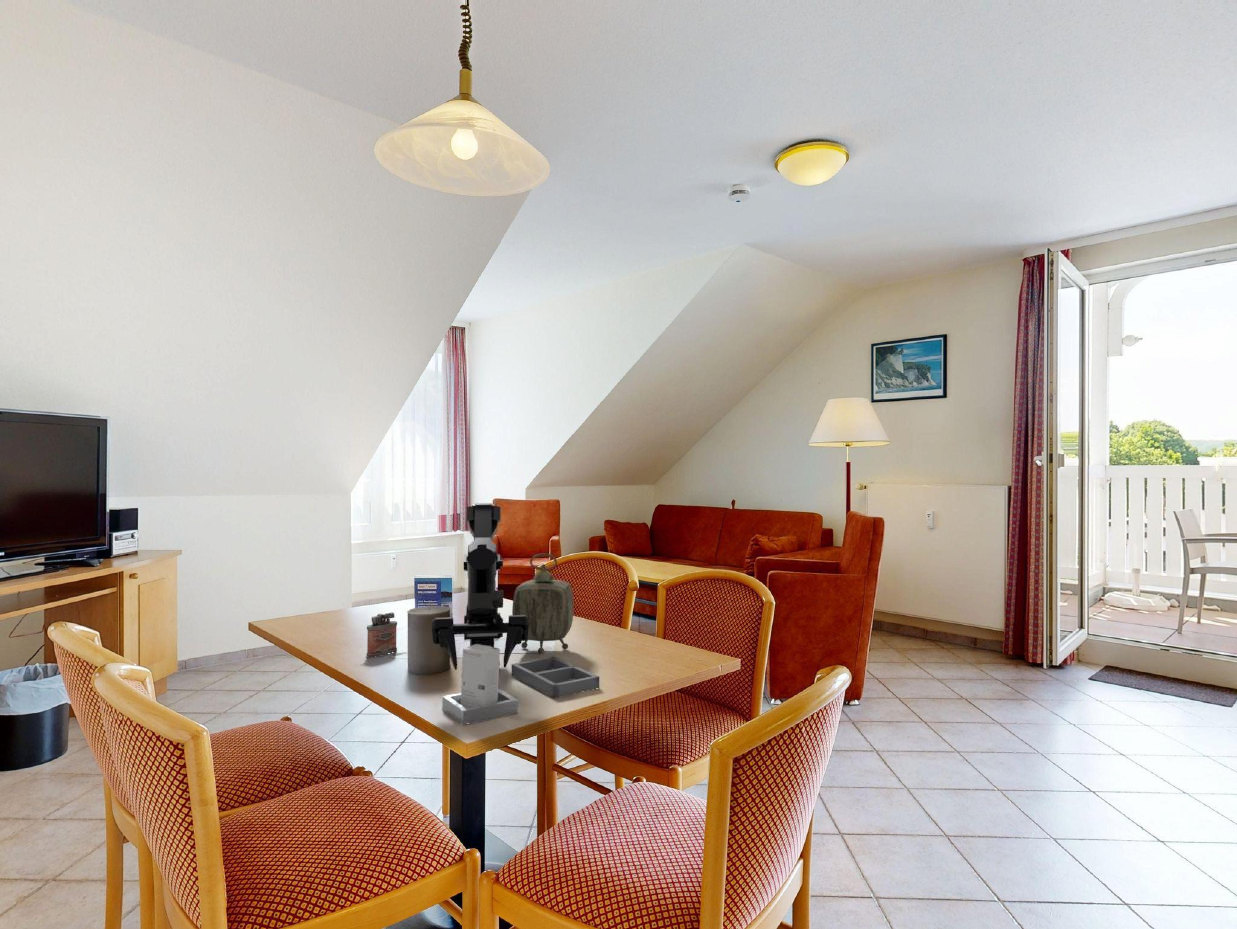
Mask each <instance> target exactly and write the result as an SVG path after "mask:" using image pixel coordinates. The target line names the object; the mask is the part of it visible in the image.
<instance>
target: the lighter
mask: <svg viewBox="0 0 1237 929" xmlns="http://www.w3.org/2000/svg"><path fill="white" fill-rule="evenodd" d="M394 618H395V612H387V613H386V612H385V613H378V614H377V615H375V616H371V623H372V624H369V625H367V626H366V630H367V642H366V643H367V646H366V647H367V648H366V649H367V650H366V651H367V652H366V658H368V657H373V658H376V657H375V656H379V657H382V656H381V655H384V656H387V655H386V654H388V653H392V652H395V653H397V652H398V647H397V626H398V621H397V620H391V619H394ZM396 651H397V652H396ZM392 654H393V653H392ZM388 655H389V654H388Z"/></svg>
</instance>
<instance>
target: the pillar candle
mask: <svg viewBox="0 0 1237 929" xmlns="http://www.w3.org/2000/svg"><path fill="white" fill-rule="evenodd" d="M446 617H451V609H450V607H448V606H444V605H431V604H428V606H419V607H414V608H411V609H409V610H407V670H408V672H409V673H411V674H414V675H431V674H433V675H434V674H438V673H443V672H446V671H448V670H450V668H451V658H450V655H449V654H448V652H447V650H446V649H445V648H444V647H440V644H434V643H433V635H432V622H433V620H434V619H435V618H446Z"/></svg>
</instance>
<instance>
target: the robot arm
mask: <svg viewBox="0 0 1237 929" xmlns="http://www.w3.org/2000/svg"><path fill="white" fill-rule="evenodd" d="M501 510H502V509H501V506H499V505H496V504H494V503H493V504H492V503H491V502H477V503H473V504H472V505H470V506H467V507H466V514H465V515H466V523H467V524H468V526H469V533H470V534H471V536H472V538H473V541H472V542H471V543H470V544H468V546H467V554H464V556H463V572H467V604H466V611H465V612H466V613H464V615H463V620H464V621H463V623H454V617H451V616H450V617H446V618H435V619H434V620H433V622H432V635H433V643H434V644H440V647H444V648H445V649H446V650H447V652H448V654H449V655H450V662H451V663H452V666H453V668H454V670H455V671H456V670H457V671H458V655H457V648H456V637H455V635H463V640H464V641H466V640H467V641H469V646H472V645H475V644H480V645H486V646H491V647H495V639H496V640H500V639H501V638H503V637H504V634H506V639H505V644H504V645H505V646H504V654H503V669H504V668H505V669H506V668H507V665H508V662H509V660H510V658H511V655H512V652H513V651H514V649H515V648H516V646H517V645H521V644H522V642H525V641H526V640H527V639H528V628H529V620H528V617H527V616H526V615H511V614H510V615H508V622H504V618H503V617H502V615H501V612H498V609H499V608H500V609H503V608H504V590H503V589H501V590H500V589H497V590H496V581H497V580H496V578H497V571H501V569H502V568H501V567H503V568H504V559H503V558H502V556H501V555H500V554H499V553H498V550H497V549H498V547H497V544H496V543H495V542H494V541H492V540H493V539H494V537H495V536H496V534H497V533H498V529H499V528H498V526H499V524H500V523H501V522H502V521H501V518H502V517H501V514H502V511H501ZM500 664H501V662H500V660H499V665H500Z"/></svg>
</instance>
